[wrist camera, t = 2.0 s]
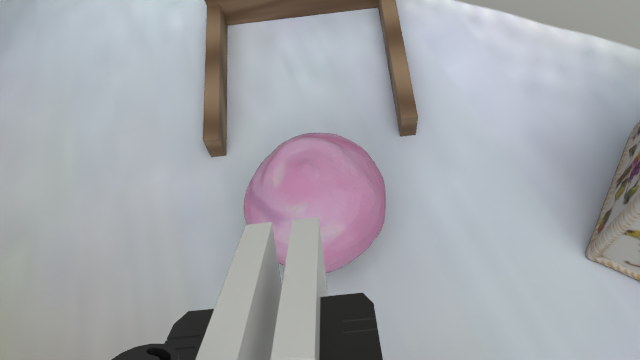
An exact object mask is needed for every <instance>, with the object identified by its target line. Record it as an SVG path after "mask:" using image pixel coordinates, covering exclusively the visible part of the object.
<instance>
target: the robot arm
mask: <svg viewBox="0 0 640 360" xmlns="http://www.w3.org/2000/svg"><path fill="white" fill-rule="evenodd" d="M112 360H383V359H382V353H381V347H380V341H379V334H378V329H377V322H376V316H375V310H374V304H373V303H372V302H371V301H370V300H369V299H368V298H367V297H366V296H365V295H364V294H363V293H356V294H346V295H336V296H328V288H327V280H326V271H325V263H324V255H323V247H322V239H321V231H320V223H319V217H316V218H307V219H297V220H292V226H291V232H290V239H289V245H288V251H287V258H286V264H285V271H284V277H283V283H282V286H281V279H280V272H279V266H278V259H277V252H276V246H275V239H274V232H273V226H272V222H268V223H258V224H249V225H245V228H244V231H243V234H242V236H241V239H240V242H239V244H238V247H237V250H236V252H235V255H234V258H233V260H232V263H231V266H230V268H229V271H228V274H227V276H226V279H225V282H224V285H223V287H222V290H221V293H220V295H219V298H218V301H217V303H216V306H215V309H208V310H198V311H188V312H187V313H186V314H185V315H184V316H183V317H182V318H180V319H179V320H178V321H177V322H176V323H175V324H174V325H173V327H172V329H171V331H170V333H169V335H168V338H167V341H166V342H165V344H147V345H143V346H138V347H135V348H132V349H130V350H128V351H125V352H123V353H121V354H119V355H118V356H116V357H115V358H113V359H112Z"/></svg>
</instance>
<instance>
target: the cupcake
mask: <svg viewBox="0 0 640 360" xmlns="http://www.w3.org/2000/svg"><path fill="white" fill-rule="evenodd" d="M385 200H386V198H385V186H384V181H383V177H382V175H381V173H380V171H379V169H378V168H377V166H376V165H375V163H374V161H373V160H372V159H371V157H370V156H369V155H368V153H367V152H366V151H365V150H364V149H362V148H361V147H360V146H358V145H357V144H355V143H354V142H352V141H350V140H348V139H346V138H343V137H341V136H338V135H335V134H329V133H308V134H303V135H299V136H296V137H294V138H291V139H289V140H288V141H285V142H284V143H282V144H281V145H279V146H278V147H277V148H276V149H275V150H274V151H273V152H272V153H271V154H270V155H269V156H268V157H267V158H266V159H265V160H264V161H263V162H262V163H261V165H260V166H259V168H258V169H257V171H256V173H255V175H254V177H253V178H252V180H251V181H250V183H249V186H248V188H247V191H246V195H245V201H244V215H245V220H246V223H247V225H249V224H258V223H268V222H272V226H273V232H274V239H275V246H276V252H277V259H278V262H279V263H281V264H283V265H285V264H286V258H287V251H288V245H289V239H290V232H291V226H292V220H297V219H307V218H316V217H319V223H320V231H321V239H322V247H323V255H324V263H325V271H326V273H327V272H331V271H334V270H336V269H338V268H341V267H343V266H344V265H346V264H348V263H350V262H351V261H352V260H354V259H355V258H356V257H358V256H359V255H360V254H362V253H363V252H364V251H365V250H366V249H367V248H368V247H369V246H370V245H371V243H372V242H373V240H374V239H375V238H376V237H377V235H378V234H379V232H380V231H381V229H382V226H383V223H384V218H385Z"/></svg>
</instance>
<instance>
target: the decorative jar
mask: <svg viewBox="0 0 640 360" xmlns="http://www.w3.org/2000/svg"><path fill="white" fill-rule="evenodd" d="M586 257H587V258H588V259H590V260H594V261H596V262H598V263H601V264H603V265H605V266H607V267H611V268H613V269H614V270H616V271H619V272H621V273H623V274H625V275H627V276H629V277H632V278H634V279H636V280H639V281H640V121H639V122H638V123H637V125H636V127H635V128H634V130H633V131H632V133H631V134H630V136H629V139H628V142H627V144H626V147H625V150H624V152H623V155H622V158H621V161H620V163H619V166H618V168H617V171H616V174H615V177H614V179H613V182H612V184H611V187H610V189H609V191H608V195H607V197H606V200H605V202H604V205H603V208H602V211H601V213H600V216H599V219H598V222H597V225H596V227H595V230H594V233H593V235H592V238H591V241H590V244H589V246H588V248H587V251H586Z"/></svg>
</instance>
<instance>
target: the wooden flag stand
mask: <svg viewBox="0 0 640 360" xmlns="http://www.w3.org/2000/svg"><path fill="white" fill-rule="evenodd" d="M205 2H206V5H207V29H206V60H205V92H204V123H203V142H204V143H205V145H206V147H207V149H208V151H209V153H210V155H211V157H215V156H224V155H226V124H227V25H234V24H242V23H250V22H259V21H267V20H276V19H284V18H292V17H301V16H309V15H317V14H326V13H334V12H342V11H351V10H359V9H367V8H376V7H378V8H379V14H380V20H381V26H382V31H383V37H384V43H385V49H386V55H387V61H388V67H389V73H390V78H391V84H392V90H393V96H394V102H395V108H396V114H397V120H398V125H399V131H400V136H407V135H416V127H417V119H418V115H417V110H416V105H415V100H414V95H413V89H412V84H411V79H410V74H409V68H408V63H407V58H406V53H405V48H404V42H403V37H402V32H401V27H400V22H399V16H398V11H397V6H396V1H395V0H205Z"/></svg>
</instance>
